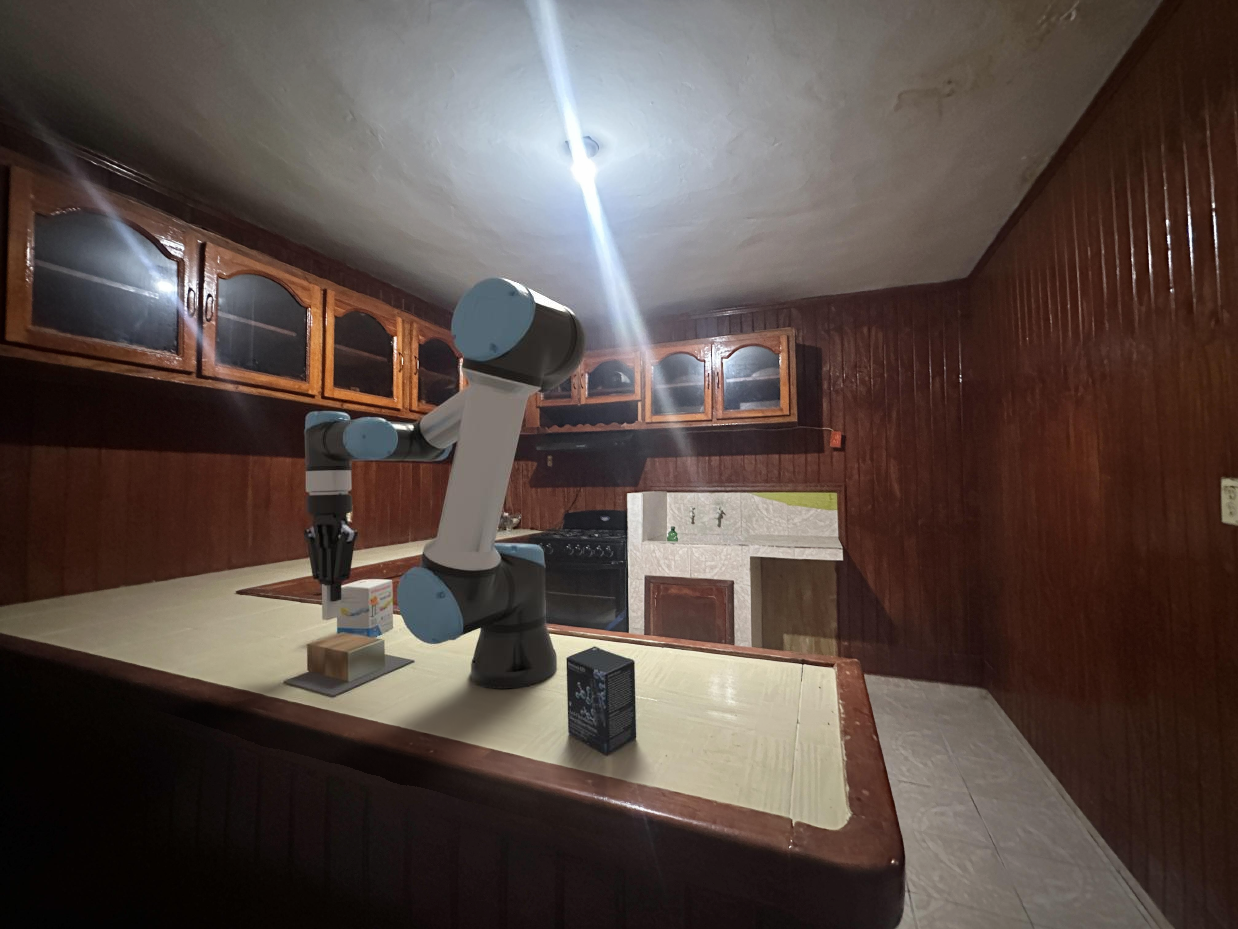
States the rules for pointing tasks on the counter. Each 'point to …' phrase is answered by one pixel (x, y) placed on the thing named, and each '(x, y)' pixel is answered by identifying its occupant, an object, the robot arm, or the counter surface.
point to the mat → (340, 686)
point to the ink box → (366, 608)
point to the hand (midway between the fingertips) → (331, 617)
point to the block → (345, 656)
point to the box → (601, 699)
